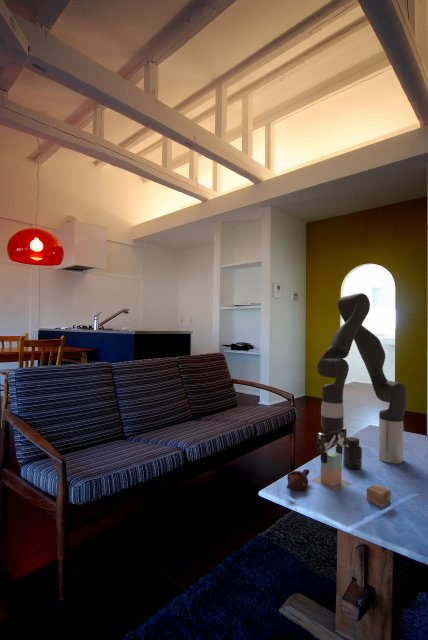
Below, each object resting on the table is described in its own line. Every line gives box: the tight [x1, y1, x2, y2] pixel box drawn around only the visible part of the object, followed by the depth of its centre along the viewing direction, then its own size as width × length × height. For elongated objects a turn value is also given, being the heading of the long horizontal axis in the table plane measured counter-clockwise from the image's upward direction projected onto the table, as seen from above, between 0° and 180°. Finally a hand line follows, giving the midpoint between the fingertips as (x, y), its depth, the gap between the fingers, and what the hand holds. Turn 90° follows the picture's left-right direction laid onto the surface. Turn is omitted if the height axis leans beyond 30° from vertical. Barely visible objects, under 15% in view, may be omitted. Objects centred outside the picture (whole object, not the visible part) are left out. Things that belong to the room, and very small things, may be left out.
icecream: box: [286, 468, 310, 492], centre depth 120 cm, size 7×7×15 cm
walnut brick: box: [366, 483, 392, 511], centre depth 112 cm, size 5×5×5 cm
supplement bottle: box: [342, 436, 363, 471], centre depth 139 cm, size 7×7×12 cm
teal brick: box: [320, 449, 343, 472], centre depth 125 cm, size 5×5×5 cm
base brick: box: [320, 466, 343, 486], centre depth 125 cm, size 5×5×5 cm
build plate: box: [310, 475, 352, 492], centre depth 125 cm, size 10×10×1 cm
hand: (331, 460), depth 125 cm, fingers open, 8 cm apart
